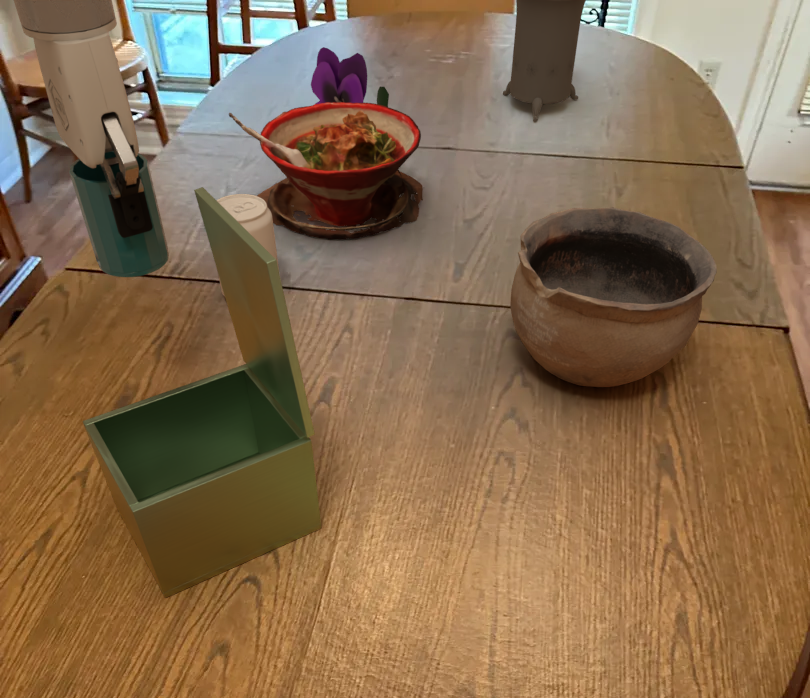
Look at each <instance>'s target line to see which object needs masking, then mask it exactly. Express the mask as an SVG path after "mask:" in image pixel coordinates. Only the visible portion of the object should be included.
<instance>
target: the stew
mask: <svg viewBox="0 0 810 698" xmlns="http://www.w3.org/2000/svg"><path fill="white" fill-rule="evenodd" d="M228 116H229V118H232V121H234V122H235V123H236V125H238V126H239V127H240V128H241V130H243V131H244V132H245V133H246V134H248V135H249V136H251V137H253V138H254V139H256V140H257V141H259V143H260V144H259V145H260V148H261V151H262V152H263V153H264V154H265V156H266V157H267V158H268V159H269V160H271V161H272V162H273V164H274V165H275V166H276V167H277V168H278V169H279V171H280V172H281V173H282V174H283V175H284V176H285V178H283V179H282V180H280V181H278V182H275V184H273V185H270V187H268V188H266V189H265V190H263V191H261V192H260V193H257V195H256V196H258V197H260V198H262V199H263V200H264V201H265V202H266V204H267V207H268V208H269V210H270V211H271V214H272V219H273V225H275V226H283V227H284V228H286V229H287V230H289V231H291V232H294V233H297V234H300V235H305V236H307V237H310V238H316V239H320V240H321V239H322V240H328V241H333V240H337V241H338V240H339V241H341V240H343V241H344V240H358V239H362V238H365V237H372V236H375V235H378V234H380V233H385V232H388V231H391V230H393V229H397V228H400V227H402V226H403V225H404V224H410V222H411V223H415V222H416V221H417V220H418V218H419V215H420V205H419V204H420V203H421V201H423V200H424V199H423V192H424V191H423V190H424V187H423V186H424V185H423V184H422V183H421V182H419V180H417V179H416V178H414V177H413V176H411V175H410V174H407V173H405V172H403V171H400V170H399V169H400V168H401V167H402V166H403V165H404V164H405V162H406V161H408V159H409V158H410V157H411V156H412V155H413V154H414V153H415V152H416V150H418V148H419V147H420V143H421V138H422V133H421V129H420V128H419V126H418V125H417V123H416V121H414V119H413V118H412V117H411V116H410V115H408V114H406V113H404V112H403V111H400V110H398V109H395V108H392V107H389V106H388V107H386V106H383V105H378V104H377V103H373V102H364V103H345V102H337V103H334V102H333V103H331V102H326V103H320V104H315V103H314V104H312V105H306V106H298V107H293V108H291V109H289V110H288V111H283V112H282V113H280V114H278V115H277V116H276V117H274V118H272V119H271V120H269V121H268V122H267V123H266V124H265V125H264V126H263V128H262V130H261V132H260V133H258V131H257V130H254V129H253V128H251V127H247V126H246V125H245V124H244V123H242V121H241V120H240V119H238V118H237V116H235V115H233V113H232V112H229V113H228ZM412 196H413V198H414V199H412ZM299 211H300V212H304V215H307V216H309V217H307V218H306V219H307V220H308V221H310V222H312V221H319V222H320V223H324V224H325V225H326V224H327V225H330V226H324V225H318V224H310V223H309V222H301V221H300V220H297V219H296V217H294V215H296V216H300V214H298V213H297V214H296V213H295V212H299ZM371 219H372V220H375V222H374V223H369V224H366V223H367V222H368V221H370V220H371ZM353 230H354V231H353ZM351 231H352V232H351Z"/></svg>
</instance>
